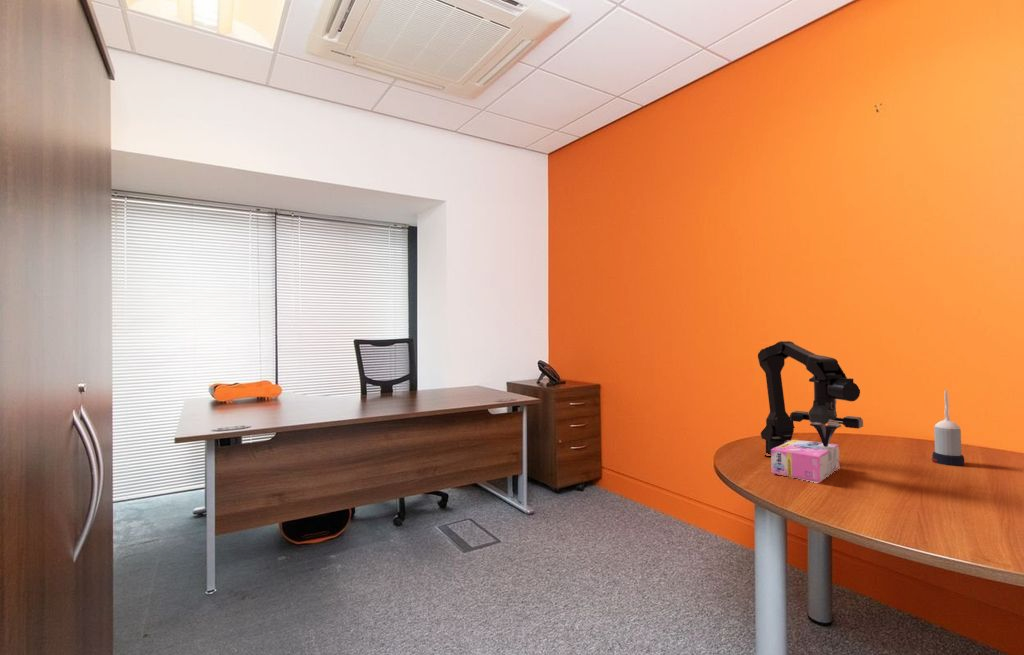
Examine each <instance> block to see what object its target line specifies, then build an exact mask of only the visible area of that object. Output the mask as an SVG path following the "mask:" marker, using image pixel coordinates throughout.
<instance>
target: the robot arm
mask: <svg viewBox="0 0 1024 655" xmlns="http://www.w3.org/2000/svg"><path fill="white" fill-rule="evenodd" d="M788 358H791V359H793V360H795V361H796V362H799V363H801V364H802V365H804V366H805V369H806V371H808V372H809V373H811V375H812V377H810V378H809V379H808V381H809V383H810V382H811V383H813V393H814V394H813V400H812V401H813V402H812V406H811V408H810V409H809V411H803V410H802V411H801V410H795V411H791V413H790V415H789V414H788V413H787V410H786V404H785V397H784V390H783V389H784V387H783V381H782V380H783V379H782V370H783V368H784V367H785V360H786V359H788ZM757 359H758V363H759V367H760V368H761V369H762V370H763V372H764V373H765V381H766V388H767V390H766V391H767V396H768V398H767V399H768V404H769V405H768V406H769V413H768V415H767V417H766V418H765V419H766V420H765V421H766V422H765V427H764V428H763V429H762V430H761V432H760V437H761V439H762V440H765V454H766V453H768V454H770V455H771V449H773V448H775V447H778V446H780V445H782V444H784V443H786V442H788V441H790V440H793V435H794V430H795V424H794V422H798V423H799V422H800V423H801V422H802V421H803V420H804V421H805V420H806V421H809V426H811V427H813V428H814V429H815V430H816V432H817V433H818V435H819V438H820V442H821V443H823V445H824V446H825V447H827V446H828V444H829V443H830V441H831V439H832V437H833V434H834V433H835V431H836V430H837V429H839V428H841V427H842V425H843V426H844V427H845V428H850V429H861V428H862V427H863V428H864V419H863V418H862V417H860V416H851V415H847V416H844V417H838V414H837V400H839V401H846V402H855V401H857V400H858V399H859V398H860V395H861V389H860V388H859V386H858V384H857V383H855V382H854V378H851V377H850V378H848V377H847V375H846V373H845V372H844V370H843V369H842V367H841V366H840V364H839V361H838V359H836V358H834V357H831V356H826V355H820V354H815V353H814V352H812V351H809V350H808V349H805V348H803V347H801V346H800V345H797V344H795V343H794V342H793V341H791V340H784V341H783V340H780V341H778V342H776V343H775V344H772V345H770V346H766V347H765V348H762V349H760V351H759V352H758V354H757Z"/></svg>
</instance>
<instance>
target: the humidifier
mask: <svg viewBox="0 0 1024 655" xmlns="http://www.w3.org/2000/svg"><path fill="white" fill-rule="evenodd" d="M944 406H945V407H944V419H943V420H940V421H939V422H937V423H936V424H934V429H933V430H934V451H933V452H932V454H931V456H932V457H931V460H932V462H933V463H935V464H939V465H944V466H952V467H964V466H965V456H964V455H963V454H962V430H961V427H960V425H958V424H957V423H956V422H955V421H952V420H951V419H950V418H951V417H950V416H951V413H950V408H951V407H950V406H951V405H950V404H949V395H948V390H944Z"/></svg>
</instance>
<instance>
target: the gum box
mask: <svg viewBox="0 0 1024 655" xmlns="http://www.w3.org/2000/svg"><path fill="white" fill-rule="evenodd" d="M839 446H840V445H839V444H836V443H830V442H829V444H828V446H827V447H825V446H824V445H823V443H822V441H820V442H819V441H810V440H803V439H802V440H801V439H793V438H792V439H791V440H787V442H786V443H784V444H782V445H780V446H778V447H775V448H773V449H771V457H770V471H771V474H775V475H778V474H780V475H785V476H791V477H796V478H801V479H806V480H812V481H817V482H819V483H821V482H822V481H824V480H826V479H827V478H828V477H830V476H831V475H833V474H834V473H835V472H834V471H835V470H837V469H838V468H839V467H841V466H840V465H841V464H840V447H839ZM837 471H838V470H837ZM833 472H834V473H833ZM832 473H833V474H832ZM830 474H831V475H830ZM829 475H830V476H829ZM826 477H827V478H826Z"/></svg>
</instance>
